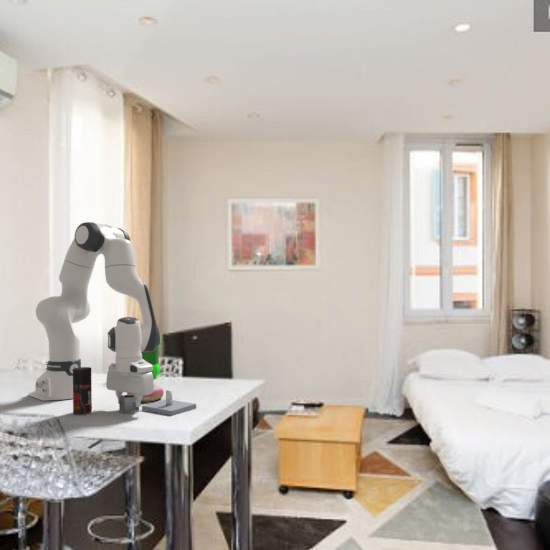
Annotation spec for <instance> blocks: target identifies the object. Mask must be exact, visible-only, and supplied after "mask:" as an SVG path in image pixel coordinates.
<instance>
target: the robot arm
mask: <svg viewBox="0 0 550 550" xmlns="http://www.w3.org/2000/svg"><path fill="white" fill-rule="evenodd" d="M101 254H102V255H103V257H104V275H105V281H106V283H107V285H108V287H109V288H111V289H112V290H114V291H115V292H117V293H119V294H122V295H125V296H128V297H131V298H133V299H134V300H136V301H137V303H138V305H139V309H140V313H141V318H142V322H143V324H141V321H140V319H139V318H137V317H133V316H127V317H126V316H125V317H120V318H119V319H117V322H116V326H113V327H111V328H110V329H109V331H108V332H107V348H108V349H109V350H110V351H112V352H113V353H115V363H114V362H112V363H111V364H110V365H109V366H108V367H107V368H108V370H107V373H106V380H105V381H106V382H105V385H106V389H107V390H109V391H115V396H116V397H117V403H118V405H119V397H120V396H122V395H123V393H126V394H127V393H132V394H136V397H137V399H136V401H135V402H134V407H139V408H140V407H142V404H141V403H142V402H141V400H142V398H143V395H149V394H152V392H153V390H154V385H155V382H154V378H153V374H152V372H150V371H152V370H153V365H152V364H150V363H148V362H146V361H145V360H144V359H142V353H141V352H153V351H154V350H155V349H156V348H157V347H158V346H159V345H160V339H161V340H162V338H161V334H160V330H159V327H158V324H157V320H156V316H155V312H154V308H153V303H152V300H151V296H150V295H151V294H150V292H149V288H148V286H147V284H146V281H143V280H142V279H141V278H140V276H139V275H138V272H137V263H136V256H135V255H136V254H135V249H134V246H133V244H132V242H131V238H130V235H129V233H128V232H127V231H125V230H124V229H121V228H117V227H114V226H112V225H108V224H102V223H95V222H93V221H92V222H91V221H89V222H83V223H82V222H81V223H80V224H79V225H78V226H77V228H76V229H75V231H74V238H73V240H72V241H71V243H70V245H69V247H68V249H67V252H66V255H65V258H64V261H63V263H62V265H61V270H60V273H59V276H58V279H59V282H60V283H61V294H60V295H59V296H58V295H57V296H49V297H47V298H44V299H43V300H40V301H39V302H38V304H37V306H36V307H35V316H36V318H37V320H38V322H39V323H41V324H42V325H43V327H44V329H45V333H46V335H47V339H48V356H49V357H48V358H49V359H48V361H45V362H44V363H45V364H44V365H46V368H45V369H46V370H45V371H44V372H43V373H42V374H41V375H40V376H39V377H38V378H37V379H36V381H35V385H34V386H35V388H34V391H31V392H29V393H28V396H29V397H32V398H35V399H37V400H40V401H42V402H45V401H61V400H64V401H65V400H70V399H71V400H73V369H74V368H79V367H82V359H81V358H80V355H81V353H80V349H81V348H80V338H79V337H78V335H76V334H75V332H74V329H73V324H74V323H78V322H81V321H83V320H84V319H86V318H87V317H88V316H89V315H90V312H91V304H90V303H89V301H88V300H89V299H88V290H89V289H88V288H89V284H90V280H91V278H92V275H93V271H94V267H95V265H96V264H95V263H96V260H97V259H98V257H99V255H101ZM160 346H161V345H160Z"/></svg>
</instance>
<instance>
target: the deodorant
mask: <svg viewBox="0 0 550 550" xmlns="http://www.w3.org/2000/svg"><path fill="white" fill-rule="evenodd" d="M92 400H93V399H92V367H89V366H81V367H79V368H74V369H73V398H72V414H73V415H78V416H83V415H89V414H91V413H92V408H93V407H92V406H93V405H92V404H93V403H92Z"/></svg>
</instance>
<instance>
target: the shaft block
mask: <svg viewBox="0 0 550 550" xmlns="http://www.w3.org/2000/svg"><path fill="white" fill-rule="evenodd" d="M194 409H197V403H193V402H187V401H182V400H181V401H180V400H173V389H166V390H165V399H163V400H159V401H155V402H153V403H148V404H144V405H141V410H142V411H144V410H146V411H145V412H149V411H151V412H150V413H155V412H157V413H156V414H160V413H162V414H161V415H166V414H167V416H175V415H177V414H181V412H182V413H185V412H188V411H191V410H194Z"/></svg>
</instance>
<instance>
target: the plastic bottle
mask: <svg viewBox="0 0 550 550" xmlns="http://www.w3.org/2000/svg"><path fill="white" fill-rule="evenodd" d="M161 345H162V338H161V339H160V345H159V346H158V347H157V348H156V349H155V350H154V351H153V352H141V353H142V359H144V360H145V361H146V362H148V363H150V364H152V365H153V370H152V371H150V372H152V374H153V379H156V378H157V377H158V376H159V375H160V374H161V365H160V363H159V348H160V346H161ZM155 377H156V378H155Z"/></svg>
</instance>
